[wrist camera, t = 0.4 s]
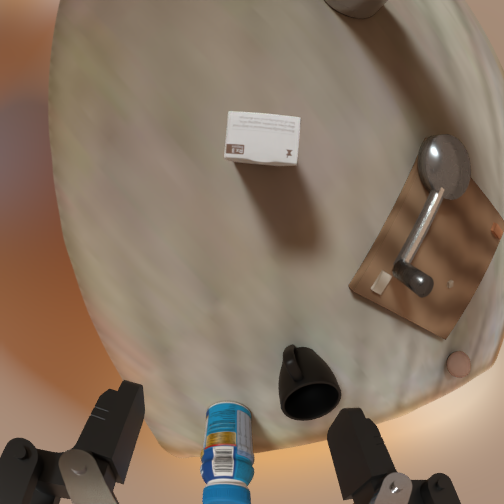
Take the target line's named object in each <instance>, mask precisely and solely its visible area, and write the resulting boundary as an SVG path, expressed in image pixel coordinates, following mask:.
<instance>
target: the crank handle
mask: <svg viewBox="0 0 504 504" xmlns="http://www.w3.org/2000/svg"><path fill="white" fill-rule="evenodd" d="M418 172H419V176H420V179H421V181H422V183H423V185H424V187H425V188H426V189H427V191H428V192H429V196H428V198H427V200H426V202H425V204H424V206H423V208H422V210H421V212H420V215H419V217H418V219H417V221H416V223H415V224H414V226H413V228H412V230H411V232H410V234H409V236H408V238H407V240H406V242H405V243H404V245H403V247H402V249H401V251H400V252H399V254H398V256H397V258H396V259H395V261H394V263H393V265H394V267H393V270H392V273H393V276H394V277H395V278H396V279H397V280H399V281H400V282H401V283H403V284H404V285H405V286H406V287H408V288H409V289H410V290H412V291H413V292H414V293H415V294H417V295H418V296H419V297H421V298H423V297H426V296H428V295H429V294H430V293H431V291H432V289H433V286H434V281H433V279H432V277H430V276H429V275H427V274H425V273H424V272H422V271H421V270H419V269H418V268H416V267H414V266H413V265H411V264H410V263H411V261H412V260H413V258H414V256H415V254H416V253H417V251H418V249H419V247H420V245H421V243H422V241H423V239H424V238H425V236H426V234H427V232H428V230H429V228H430V226H431V224H432V222H433V220H434V217H435V215H436V213H437V211H438V209H439V207H440V205H441V202H442V200H443V198H444V199H449V200H454V199H457V198H459V197H461V196H462V195H463V194H464V193H465V191H466V189H467V187H468V185H469V182H470V176H471V165H470V160H469V156H468V153H467V151H466V149H465V147H464V145H463V144H462V143H461V142H460V141H459V140H458V139H457V138H456V137H454V136H452V135H448V134H444V135H434V136H430V137H428V138H427V139H426V140H425V141H424V142H423V143H422V145H421V147H420V150H419V154H418Z"/></svg>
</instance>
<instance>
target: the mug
mask: <svg viewBox="0 0 504 504" xmlns="http://www.w3.org/2000/svg"><path fill="white" fill-rule="evenodd" d="M279 398H280V404H281V409H282V411H283V413H284V414H285V415H286V416H287V417H289V418H291V419H294V420H301V421H304V420H313V419H316V418H320V417H322V416H324V415H326V414H328V413H329V412H331V411H332V410H333V409H334V408H335V407H336V406H337V405H338V403H339V401H340V399H341V390H340V387H339V385H338V382H337V380H336V378H335V376H334V374H333V372H332V371H331V369H330V368H329V366H328V365H327V364H326V363H325V361H324V360H323V359H322V358H321V357H319V356H318V355H317V354H316V353H315V352H314V351H313V350H312V349H310V348H307V347H299V348H296V346H295V345H289V346H288V347H286V348H285V350H284V352H283V362H282V367H281V371H280V376H279Z"/></svg>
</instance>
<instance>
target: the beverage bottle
mask: <svg viewBox="0 0 504 504" xmlns="http://www.w3.org/2000/svg"><path fill="white" fill-rule="evenodd" d="M201 461H202V463H203V464H202V465H201V468H200V472H201V475H202V478H203V479H204V481H205V483H206V484H207V485H206V486H205V488H204V490H203V501H202V502H203V504H251V498H250V491H249V489H248V488H247V486H248V485H249V483H250V482H251V480H252V478H253V475H254V468H253V467H252V465H253V463H254V454H253V445H252V429H251V413H250V411H249V410H248V408H246V407H245V406H244V405H242V404H239V403H236V402H229V401H225V402H219V403H216V404H214V405H212V406H211V407H209V409H208V410H207V413H206V428H205V436H204V445H203V450H202V452H201Z"/></svg>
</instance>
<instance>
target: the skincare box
mask: <svg viewBox="0 0 504 504" xmlns="http://www.w3.org/2000/svg"><path fill="white" fill-rule="evenodd" d="M300 125H301V118H300V117H293V116H284V115H275V114H265V113H252V112H233V111H229V112H228V120H227V131H226V142H225V152H224V158H225V159H227V160H230V161H233V162H240V163H249V164H260V165H271V166H296V165H297V164H298V148H299V136H300Z"/></svg>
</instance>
